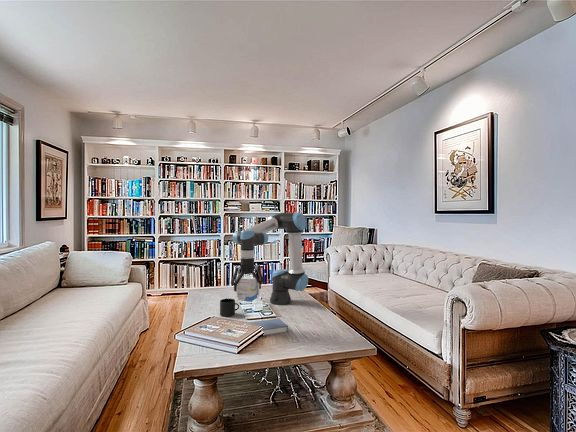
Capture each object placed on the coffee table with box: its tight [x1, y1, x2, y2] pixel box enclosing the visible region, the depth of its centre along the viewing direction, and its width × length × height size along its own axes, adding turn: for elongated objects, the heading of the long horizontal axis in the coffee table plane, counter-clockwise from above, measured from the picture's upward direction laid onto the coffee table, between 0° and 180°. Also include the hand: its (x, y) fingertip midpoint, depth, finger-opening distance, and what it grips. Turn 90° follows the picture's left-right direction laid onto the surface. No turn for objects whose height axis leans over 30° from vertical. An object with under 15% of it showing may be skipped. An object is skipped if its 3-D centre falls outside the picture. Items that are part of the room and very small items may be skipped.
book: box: [249, 317, 289, 337], centre depth 178 cm, size 18×13×4 cm
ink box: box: [237, 276, 258, 303], centre depth 181 cm, size 9×8×12 cm
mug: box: [219, 298, 240, 318], centre depth 203 cm, size 9×12×9 cm
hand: (247, 295), depth 181 cm, fingers closed on ink box, 11 cm apart
